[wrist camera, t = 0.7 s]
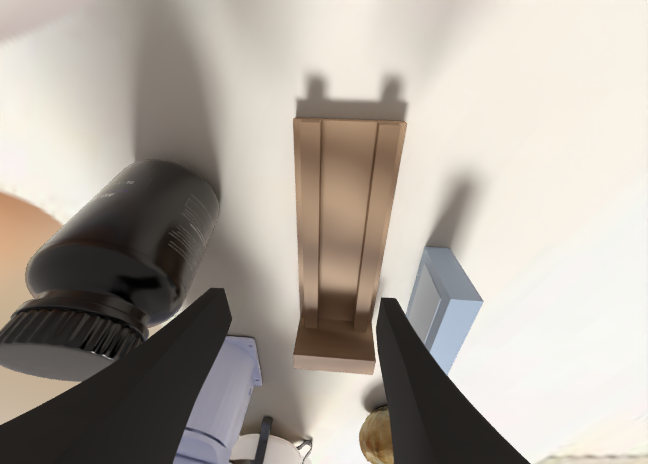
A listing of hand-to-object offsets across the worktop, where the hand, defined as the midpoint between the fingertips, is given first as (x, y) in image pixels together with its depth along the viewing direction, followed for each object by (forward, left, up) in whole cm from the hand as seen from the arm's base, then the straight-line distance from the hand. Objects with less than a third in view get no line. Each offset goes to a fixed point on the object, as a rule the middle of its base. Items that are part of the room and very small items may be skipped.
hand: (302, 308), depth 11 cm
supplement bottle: (+1, +11, -9) cm, 14 cm away
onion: (-30, -10, -10) cm, 33 cm away
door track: (-3, -2, -10) cm, 10 cm away
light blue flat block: (-7, -10, -10) cm, 16 cm away
